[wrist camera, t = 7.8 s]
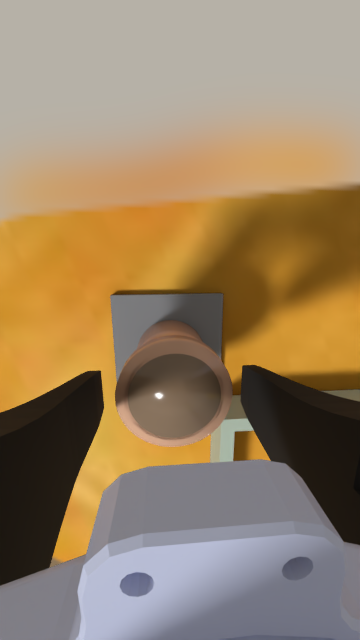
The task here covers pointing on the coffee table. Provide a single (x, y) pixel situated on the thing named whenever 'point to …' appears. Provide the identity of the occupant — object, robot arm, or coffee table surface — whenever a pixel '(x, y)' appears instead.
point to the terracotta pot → (173, 387)
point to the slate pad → (164, 318)
